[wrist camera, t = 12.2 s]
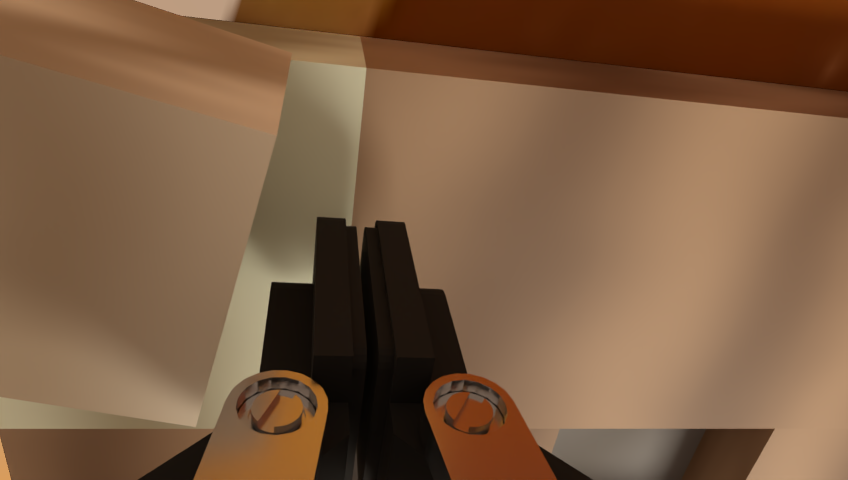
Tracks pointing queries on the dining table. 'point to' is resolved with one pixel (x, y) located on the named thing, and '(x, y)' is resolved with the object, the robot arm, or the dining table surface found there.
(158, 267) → the maple block
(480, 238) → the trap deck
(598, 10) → the dining table surface
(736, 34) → the dining table surface
